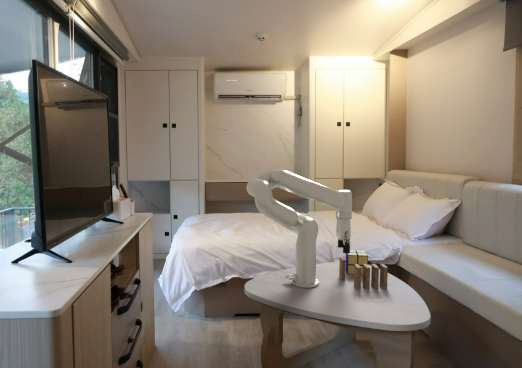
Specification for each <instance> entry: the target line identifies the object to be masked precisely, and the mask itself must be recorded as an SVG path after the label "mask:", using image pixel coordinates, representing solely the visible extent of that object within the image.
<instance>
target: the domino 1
mask: <svg viewBox="0 0 522 368" xmlns="http://www.w3.org/2000/svg"><path fill="white" fill-rule="evenodd" d="M338 265H339V266H338V268H339V269H338V271H339V273H338V275H339V276H338V277H339V279H341V281H346V258H345V257H344V256H339V263H338Z"/></svg>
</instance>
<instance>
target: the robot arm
mask: <svg viewBox="0 0 522 368" xmlns="http://www.w3.org/2000/svg"><path fill="white" fill-rule="evenodd" d="M276 188H278V189H281V190H284V191H286V192H289V193H291V194H293V195H296V196H299V197H301V198H303V199H307V200H311V201H316V202H319V203H321V205H323V206H326V207H330V208H332V209H335V219H336V226H335V227H336V228H335V237H337V248H339V249H340V248H342V252H343V253H342V254H346V253H350V250H351V236H352V234H351V233H352V231H351V220H352V219H353V192H352V191H351V190H350V189H338V190H335V189H333V188H331V187H328V186H327V185H322V184H321V183H318V182H315V181H313V180H312V179H311V180H310V179H308V178H306V177H304V176H300V175H298V174H296V173H293V172H291V171H289V170H286V169H272V170H270V171H268V172H265V173H263V174H260V175H258V176H256V177H253V178H251V179H249V180H248V182H247V184H246V192H247V193H248V195H250V196H251V197H253V198H254V203H255V206H256V208H257V209H256V210H258V212H259V213H261V214H262V215H263V216H265V217H267V218H268V219H270V220H272V221H273V222H274V223H276V224H278V225H280V226H281V227H282V228H285V229H287V230H289V231H291V232H293V233H295V234H297V238H296V241H295V271H294V273H292V274H287V273H285V279H288V280H290V281H291V283H292V284H293V286H296V287H298V288H304V289H305V288H307V289H308V288H309V289H311V288H315V287H317V286H319V284H320V281H319V279H318V278H317V277H316V276H317V275H316V274H317V240H318V235H319V225H318V222H317V221H316V220H315V219H314V218H312V217H310V216H308V215H304V214H302V213H300V212H298V211H296V210H295V209H293V208H292V207H290V206H288V205H286V204H284V203H282V202H280V201H279V200H277V199H276V198H274V197H273V192H272V191H273V190H274V189H276Z"/></svg>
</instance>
